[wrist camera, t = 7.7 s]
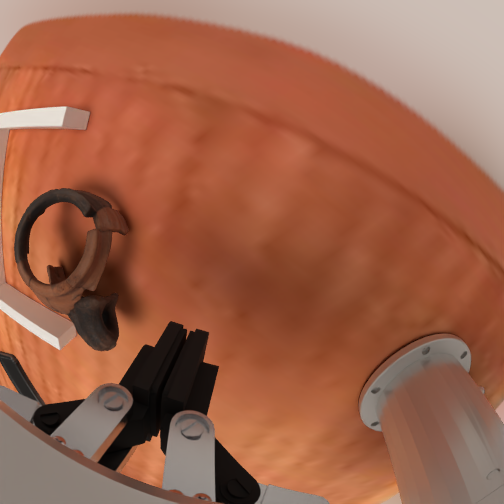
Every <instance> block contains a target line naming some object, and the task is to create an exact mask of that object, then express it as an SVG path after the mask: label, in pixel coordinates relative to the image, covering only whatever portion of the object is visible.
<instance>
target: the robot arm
mask: <svg viewBox="0 0 504 504" xmlns="http://www.w3.org/2000/svg"><path fill="white" fill-rule="evenodd" d="M186 335H187V329H183V325H182V324H178V323H175V322H172V321H170V323H169V324H168V326H167V327H166V329H165V331H164V332H163V334H162V336H161V337H160V339H159V341H158V342H157V344H156V345H155V347H152V346H149V345H144V346H143V347H142V349H141V350H140V352H139V353H138V355H137V357H136V358H135V360H134V361H133V363H132V364H131V366H130V367H129V369H128V371H127V372H126V374H125V375H124V377H123V378H122V380H121V382H120V383H119V385H118V384H113V383H108V384H103V385H100V386H99V387H98V388H96V389H95V390H94V391H93V392H92V393H91V394H90V395H89V396H88V397H87V398H86V399H82V400H75V401H69V402H62V403H54V404H47V405H43V406H42V405H39V403H38V402H37V401H35V400H32V399H30V398H28V397H25V396H23V395H21V394H19V393H17V392H14V391H12V390H10V389H8V388H6V387H4V386H0V504H329V502H328V501H327V500H326V499H325V498H323V497H320V496H317V495H312V494H307V493H302V492H297V491H293V490H289V489H285V488H281V487H277V486H274V485H270V484H269V485H268V486H267V485H263V484H260V483H257V481H256V480H255V479H254V478H253V477H252V476H251V475H250V474H249V473H248V472H247V471H246V470H245V469H244V468H243V467H242V466H241V465H240V464H239V463H238V462H237V461H236V460H235V459H234V458H233V457H232V456H231V455H230V454H229V452H228V451H227V450H226V449H225V448H224V447H223V446H222V445H221V444H220V443H219V441H218V440H217V439H216V438H215V429H214V424H213V423H212V421H211V420H210V419H209V418H208V417H207V412H208V408H209V404H210V400H211V396H212V392H213V388H214V384H215V380H216V376H217V372H218V368H219V366H216V365H212V364H208V363H204V362H203V360H204V355H205V350H206V345H207V340H208V336H209V332H206V331H202V330H199V329H196V330H195V332H193V331H190V333H189V335H188V337H187V339H186ZM470 366H471V354H470V350H469V348H468V346H467V345H466V344H465V343H464V341H463V340H462V339H461V338H459V337H457V336H455V335H452V334H447V333H444V334H435V335H431V336H427V337H424V338H422V339H419V340H417V341H415V342H413V343H411V344H409V345H407V346H406V347H404V348H402V349H401V350H399V351H398V352H397V353H395V354H394V355H392V356H391V357H390V358H389V359H388V360H386V361H385V362H384V363H383V364H382V365H381V366H380V367H379V368H378V369H377V370H376V371H375V372H374V373H373V374H372V376H371V377H370V378H369V380H368V381H367V383H366V384H365V386H364V388H363V390H362V392H361V394H360V398H359V402H358V406H359V413H360V416H361V419H362V421H363V423H364V424H365V425H366V426H367V427H369V428H371V429H373V430H376V431H382V432H383V436H384V439H385V442H386V446H387V449H388V452H389V456H390V459H391V463H392V466H393V470H394V474H395V477H396V481H397V485H398V489H399V493H400V497H401V501H402V504H504V424H503V422H502V421H501V419H500V418H499V416H498V414H497V413H496V411H495V410H494V408H493V407H492V405H491V404H490V403H489V401H488V400H487V398H486V397H485V395H484V387H482V386H477V384H476V383H475V382H474V380H473V379H472V377H471V376H470V375H469V374H468V373H469V370H470ZM159 431H160V438H161V450H162V451H163V453H164V454H165V456H166V459H165V467H164V475H163V485H162V489H161V488H158V487H155V486H152V485H149V484H146V483H143V482H141V481H138V480H135V479H133V478H130V477H128V476H125V475H123V474H120V472H121V471H122V469H123V468H124V466H125V465H126V463H127V462H128V461H129V459H130V458H131V456H132V455H133V453H134V452H135V450H136V448H137V446H138V445H140V444H143V443H145V441H146V440H147V441H149V442H150V440H151V438H152V436H155V437H157V436H158V433H159Z"/></svg>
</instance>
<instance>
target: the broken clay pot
mask: <svg viewBox="0 0 504 504" xmlns="http://www.w3.org/2000/svg"><path fill="white" fill-rule="evenodd" d="M59 202H68V203H72V204H74V205H76V206H77V207H78V208H79V209H80V210H81V212H82V213H83V215H84V216H85V217H93V219H94V223H95V226H96V229H93V230H90V231H88V232H87V239H86V245H85V250H84V254H83V256H82V258H81V260H80V262H79V264H78V266H77V267H76V269H75V270H74V271H73V272H72V274H71V275H70V276H69V277H68V278H67V279H66V277H65V274H64V271H63V268H62V267H53V266H51V265H48V266H47V272H48V276H49V282H50V284H45V283H42V282H40V281H39V280H38V279H37V278H36V277H35V276H34V275H33V273H32V271H31V269H30V266H29V263H28V259H27V254H29V236H30V231H31V228H32V226H33V224H34V222H35V221H36V219H37V218H38V217H39V216H40V215H42V214H43V213H44V212H45V210H46V208H48V207H49V206H51V205H53V204H55V203H59ZM112 232H119V233H120V234H122V235H126V234H128V232H129V231H128V227H127V224H126V222H125V219H124V217H123V216H122V215H121V214H119V212H118V211H117V210H114V209H112V205H111V204H110V203H109V202H108V201H106V200H104V199H102V198H101V197H98V196H96V195H94V194H92V193H89V192H85V191H78V190H72V189H67V188H61V189H55V190H50V191H48V192H46V193H44V194H42V195H40V196H39V197H38V198H37V199H35V200H34V201H33V202H32V203H31V204H30V206H29V207H28V208H27V209H26V211H25V213H24V214H23V216H22V218H21V220H20V223H19V224H18V228H17V231H16V235H15V244H14V251H15V260H16V263H17V266H18V270H19V273H20V275H21V277H22V279H23V281H24V282H25V283H26V285H27V286H28V287H30V289H31V290H32V291H33V292H34V293H35V295H36V296H37V297H38V298H39V300H40V301H41V302H42V303H43V304H45V305H46V306H47V307H49V308H50V309H52V310H54V311H57V312H59V313H61V314H66V315H68V316H69V318H70V319H71V321H72V322H73V324H74V326H75V328H76V330H77V332H78V334H79V335H80V336H81V337H82V338H83V339H84V341H85V342H86V343H87V344H88V345H89V346H91V347H92V348H93V349H94V350H99V351H108V350H111V349H112V348H114V347H115V346H116V342H117V340H118V337H119V328H118V322H117V318H116V313H115V307H116V302H117V299H118V294H117V293H113V294H111V295H110V296H107V297H102V296H95V295H89V296H87V297H83V296H82V293H83V292H84V290H85V289H87V290H90V291H95V289H96V287H97V285H98V283H99V280H100V278H101V275H102V273H103V271H104V269H105V265H106V261H107V258H108V255H109V252H110V248H111V242H112Z"/></svg>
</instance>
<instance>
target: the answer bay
mask: <svg viewBox="0 0 504 504" xmlns="http://www.w3.org/2000/svg"><path fill="white" fill-rule="evenodd" d="M89 115H90V112H88V111H84V110H80V109H76V108H71V107H67V106H66V107H49V108H37V109H28V110H20V111H12V112H6V113H0V309H1V310H2V311H4V312H5V313H6V314H7V315H9V316H10V317H11V318H13V319H14V320H15V321H17V322H18V323H19V324H21V325H22V326H24V327H25V328H26V329H28V330H29V331H31V332H32V333H34V334H35V335H37V336H38V337H40V338H41V339H43V340H44V341H46V342H48V343H49V344H51V345H52V346H54V347H56V348H57V349H59V350H61V349H62V348H63V347H64V346H65V345H67V344H68V343H69V342H70V341H71V340H72V339H73V338H74V337H75V336H76V335H77V334H76V328H75V326H74V324H73V322H71V321H69V320H67V319H65V318H64V317H62V316H60V315H58V314H56V313H54V312H53V311H51V310H49V309H47V308H46V307H44V306H42V305H40V304H39V303H37V302H35V301H34V300H32V299H30V298H29V297H27V296H26V295H24V294H23V293H21V292H19V291H18V290H16V289H15V288H13V287H12V286H10V285H9V284H7V283H6V280H5V272H4V263H3V252H2V234H1V200H2V182H3V171H4V162H5V154H6V147H7V141H8V136H9V130H10V129H78V130H86V128H87V124H88V119H89Z"/></svg>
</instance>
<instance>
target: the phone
mask: <svg viewBox="0 0 504 504" xmlns="http://www.w3.org/2000/svg"><path fill="white" fill-rule="evenodd" d="M0 362H1V364H2V366H3V368H4V369H5V371H6V373H7V375H8V376H9V378H10V380H11V381H12V383H13V384H14V386H15V388H16V389H17V391H18V392H19V394H21V395H23V396H25V397H28V398H30V399H32V400H35V401H37V402H38V403H39V405H42V406H43V405H46V404H45V403H44V401H43V400H42V399H41V397H40V396H39V394H38V393H37V391H36V389H35V388H34V386H33V385H32V383H31V382H30V380H29V378H28V377H27V375H26V373H25V372H24V370H23V368H22V366H21V365H20V363H19V361H18V359H17V358H16V357H15V356H14V355H12V354H8V353H5V352H1V351H0Z"/></svg>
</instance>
